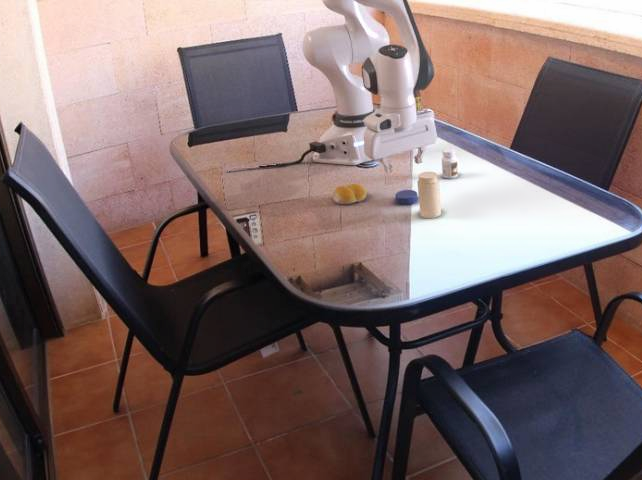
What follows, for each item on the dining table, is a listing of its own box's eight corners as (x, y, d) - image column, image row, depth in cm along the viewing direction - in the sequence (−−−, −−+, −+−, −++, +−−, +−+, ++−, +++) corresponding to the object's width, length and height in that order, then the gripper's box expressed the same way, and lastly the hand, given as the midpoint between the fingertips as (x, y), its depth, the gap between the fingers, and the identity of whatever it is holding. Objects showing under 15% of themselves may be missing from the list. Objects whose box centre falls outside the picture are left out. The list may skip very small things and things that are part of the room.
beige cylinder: (418, 218, 169) (414, 178, 164) (422, 209, 174) (419, 170, 168) (439, 218, 168) (436, 179, 163) (442, 209, 173) (440, 171, 167)
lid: (420, 197, 181) (420, 190, 180) (413, 205, 176) (412, 199, 175) (400, 195, 182) (400, 189, 181) (392, 204, 178) (391, 197, 177)
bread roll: (371, 199, 181) (369, 185, 179) (341, 207, 177) (339, 193, 175) (358, 190, 187) (356, 176, 185) (329, 198, 183) (327, 184, 181)
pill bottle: (456, 179, 191) (454, 153, 186) (441, 178, 191) (439, 152, 187) (459, 173, 194) (457, 147, 190) (444, 173, 195) (443, 147, 191)
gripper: (426, 103, 174) (429, 154, 181) (357, 120, 164) (364, 173, 172) (440, 109, 169) (442, 160, 177) (370, 126, 160) (376, 180, 167)
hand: (403, 167), depth 174 cm, fingers open, 8 cm apart
